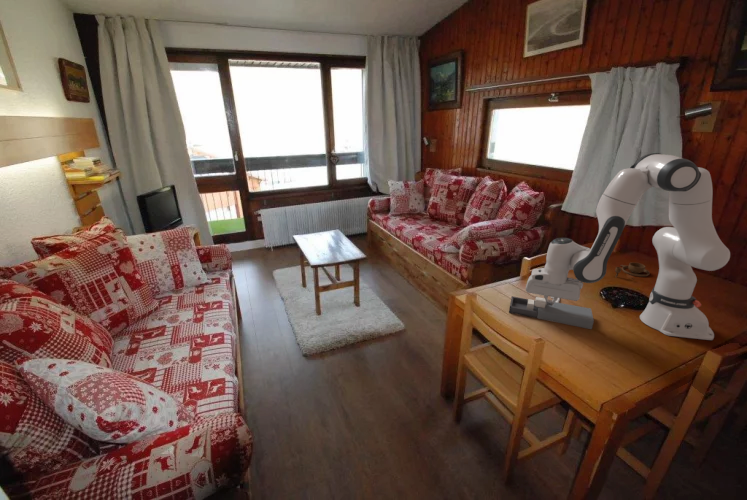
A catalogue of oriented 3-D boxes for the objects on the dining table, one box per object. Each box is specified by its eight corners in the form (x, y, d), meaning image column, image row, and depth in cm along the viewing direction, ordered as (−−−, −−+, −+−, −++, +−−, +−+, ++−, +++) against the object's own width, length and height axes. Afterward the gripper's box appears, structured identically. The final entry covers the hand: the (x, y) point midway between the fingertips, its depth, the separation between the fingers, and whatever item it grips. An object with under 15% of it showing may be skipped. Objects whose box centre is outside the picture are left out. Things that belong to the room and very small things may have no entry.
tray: (536, 306, 149) (537, 301, 148) (536, 318, 141) (537, 312, 140) (510, 301, 154) (511, 296, 153) (508, 312, 146) (509, 306, 145)
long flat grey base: (588, 316, 141) (590, 308, 140) (591, 329, 133) (593, 321, 131) (537, 306, 149) (538, 299, 148) (537, 318, 141) (538, 310, 140)
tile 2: (544, 303, 144) (545, 298, 143) (544, 308, 141) (545, 303, 140) (534, 301, 146) (535, 296, 145) (534, 306, 143) (535, 301, 142)
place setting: (657, 281, 169) (661, 270, 167) (615, 279, 172) (617, 269, 170) (637, 266, 185) (640, 257, 183) (599, 265, 188) (601, 256, 186)
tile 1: (534, 300, 146) (528, 299, 147) (534, 304, 142) (527, 303, 143) (532, 307, 147) (526, 306, 148) (532, 312, 144) (526, 311, 145)
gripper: (583, 276, 135) (576, 305, 140) (528, 268, 143) (524, 296, 148) (584, 283, 129) (577, 313, 135) (528, 274, 138) (523, 303, 143)
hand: (549, 304), depth 142 cm, fingers closed
